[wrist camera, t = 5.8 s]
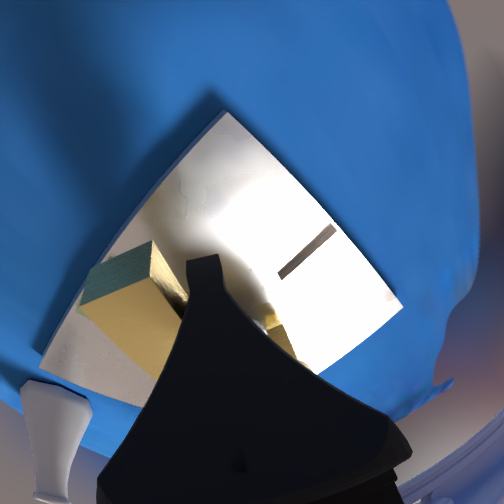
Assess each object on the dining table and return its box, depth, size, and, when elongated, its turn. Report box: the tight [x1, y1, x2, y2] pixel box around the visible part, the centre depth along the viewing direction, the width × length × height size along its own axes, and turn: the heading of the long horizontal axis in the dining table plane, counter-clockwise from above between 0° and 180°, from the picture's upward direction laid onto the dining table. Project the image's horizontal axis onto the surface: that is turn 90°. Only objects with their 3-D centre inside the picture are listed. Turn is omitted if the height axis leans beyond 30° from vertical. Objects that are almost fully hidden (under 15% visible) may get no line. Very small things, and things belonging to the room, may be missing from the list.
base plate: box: [39, 109, 403, 408], centre depth 16 cm, size 18×19×4 cm
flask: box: [20, 380, 93, 504], centre depth 14 cm, size 7×7×10 cm
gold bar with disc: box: [79, 240, 313, 381], centre depth 13 cm, size 15×8×5 cm, turn 17°
